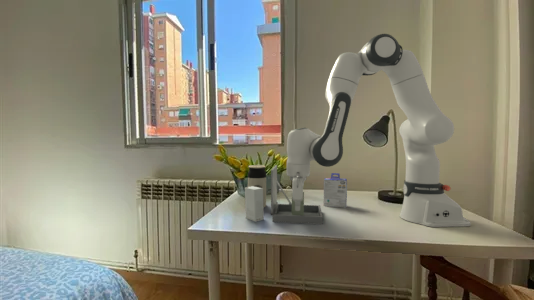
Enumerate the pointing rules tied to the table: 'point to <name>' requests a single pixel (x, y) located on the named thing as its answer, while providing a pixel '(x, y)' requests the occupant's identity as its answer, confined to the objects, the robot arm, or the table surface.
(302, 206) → the block
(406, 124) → the robot arm
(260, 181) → the travel mug
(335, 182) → the ink cartridge box
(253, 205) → the skincare box
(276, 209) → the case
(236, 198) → the table surface
